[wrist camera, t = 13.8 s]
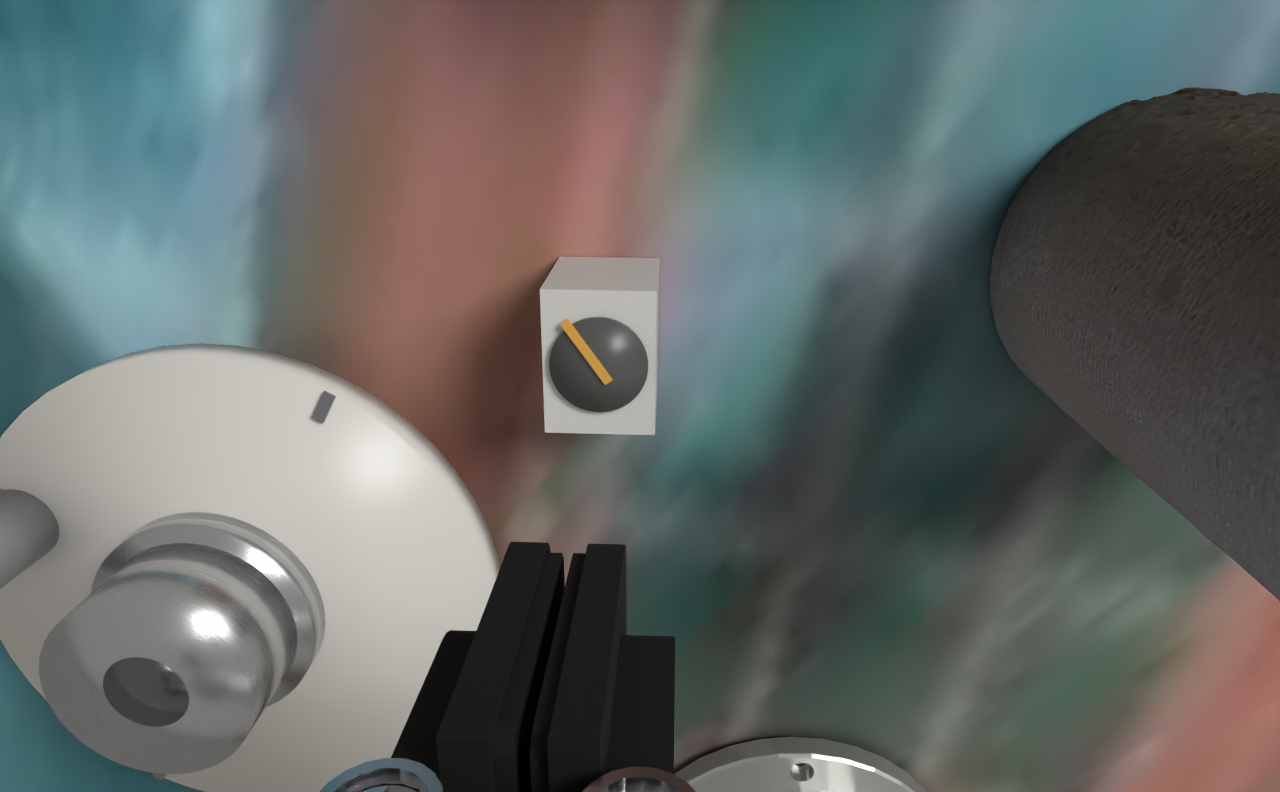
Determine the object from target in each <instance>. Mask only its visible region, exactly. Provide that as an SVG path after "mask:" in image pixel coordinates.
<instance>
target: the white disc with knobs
mask: <svg viewBox="0 0 1280 792" xmlns="http://www.w3.org/2000/svg"><path fill="white" fill-rule="evenodd" d="M187 512H205V513H213V514H220V515H224V516H228V517H233V518H235V519H238V520H241V521H244V522H247V523H249V524H251V525H253V526H255V527H258V528H260V529H262V530H263V531H265V532H267V533H268V534H270V535H272V536H273V537H275V538H276V539H277V540H279V541H280V542H281V543H283V544H284V545H285V546H286V547H287V548H288V549H290V550H291V551H292V552H293V553H294V554H295V555H296V556H297V557H298V558H299V560H300V561H301V562H302V563H303V564H304V566H305V567H306V568H307V570H308V571H309V573H310V574H311V576H312V577H313V579H314V581H315V583H316V585H317V587H318V589H319V592H320V595H321V598H322V601H323V605H324V610H325V625H326V626H325V633H324V638H323V642H322V645H321V648H320V650H319V652H318V654H317V656H316V658H315V659H314V661H313V663H312V664H311V666H310V668H309V669H308V671H307V672H306V674H305V676H304V677H303V679H302V680H301V681H300V683H299V684H298V686H297V687H296V688H295V689H294V690H293V691H292V692H291V693H290V694H288V695H287V696H286V697H284V698H283V699H281V700H280V701H278V702H276V703H274V704H272V705H270V706H268V707H265V709H264V711H263V712H262V714H261V715H260V717H259V718H258V720H257V722H256V723H255V725H254V726H253V728H252V729H251V731H250V732H249V734H248V736H247V737H246V739H245V740H244V742H243V743H242V744H241V746H240V747H239V748H238V749H237V750H236V751H235V752H234V753H233V754H232V755H231V756H230V757H228V758H227V759H226V760H224V761H223V762H221V763H219V764H217V765H215V766H213V767H210V768H207V769H204V770H201V771H197V772H192V773H184V774H159V773H153V776H152V777H154V778H157V779H159V780H161V781H162V780H163V779H164V778H165V779H168V780H170V781H173V782H176V783H179V784H181V785H184V786H187V787H190V788H194V789H197V790H201V791H205V792H320V790H321V789H322V788H323V787H324V786H325V785H326V784H327V783H328V782H329V781H331V780H332V779H334V778H335V777H337V776H338V775H340V774H341V773H342V772H344V771H345V770H348V769H350V768H352V767H355V766H357V765H360V764H362V763H364V762H368V761H373V760H378V759H383V758H391V756H392V754H393V752H394V749H395V747H396V745H397V742H398V740H399V738H400V736H401V733H402V731H403V729H404V726H405V724H406V722H407V720H408V717H409V715H410V713H411V710H412V708H413V706H414V703H415V701H416V699H417V697H418V694H419V692H420V690H421V687H422V685H423V683H424V680H425V678H426V676H427V674H428V671H429V669H430V667H431V664H432V662H433V660H434V658H435V655H436V653H437V651H438V648H439V646H440V644H441V641H442V639H443V637H444V636H445V634H446V632H448V631H450V630H460V631H477V628H478V625H479V623H480V620H481V617H482V615H483V612H484V610H485V607H486V604H487V602H488V599H489V596H490V594H491V591H492V588H493V586H494V583H495V581H496V578H497V575H498V573H499V570H500V566H499V560H498V556H497V553H496V550H495V547H494V544H493V540H492V537H491V534H490V531H489V528H488V526H487V524H486V522H485V520H484V518H483V516H482V514H481V511H480V509H479V507H478V505H477V503H476V501H475V499H474V498H473V496H472V495H471V493H470V491H469V490H468V488H467V487H466V485H465V484H464V482H463V481H462V479H461V478H460V476H459V474H458V473H457V471H456V470H455V469H454V468H453V467H452V466H451V464H450V463H449V462H448V461H447V460H446V458H445V457H444V456H443V455H442V454H441V452H440V451H439V450H438V449H437V448H436V446H435V445H434V444H433V443H432V442H431V441H429V440H428V439H427V438H426V437H425V436H424V435H423V434H422V433H421V432H420V431H419V430H418V429H417V428H416V427H415V426H413V425H412V424H411V423H410V422H409V421H408V420H407V419H406V418H404V417H403V416H402V415H400V414H399V413H397V412H396V411H395V410H393V409H392V408H391V407H389V406H388V405H387V404H385V403H384V402H383V401H381V400H380V399H379V398H377V397H375V396H374V395H372V394H370V393H368V392H367V391H365V390H363V389H362V388H360V387H358V386H356V385H355V384H353V383H351V382H349V381H348V380H346V379H344V378H342V377H339V376H337V375H335V374H333V373H330V372H328V371H326V370H323V369H321V368H319V367H317V366H314V365H312V364H310V363H306V362H303V361H300V360H297V359H293V358H290V357H287V356H284V355H280V354H277V353H274V352H268V351H263V350H257V349H252V348H246V347H241V346H233V345H216V344H186V345H171V346H162V347H157V348H152V349H147V350H143V351H138V352H133V353H129V354H126V355H124V356H121V357H118V358H116V359H113V360H110V361H107V362H105V363H102V364H99V365H97V366H95V367H93V368H91V369H90V370H88V371H86V372H84V373H82V374H80V375H78V376H76V377H74V378H72V379H70V380H69V381H67V382H65V383H63V384H61V385H60V386H58V387H56V388H54V389H52V390H51V391H49V392H47V393H46V394H44V395H43V396H42V397H41V398H39V399H38V400H37V401H36V402H34V403H33V404H32V405H31V406H29V407H28V408H27V409H26V410H24V411H23V412H22V413H21V414H20V415H19V417H18V418H17V419H16V420H15V421H14V422H13V423H12V424H11V426H10V427H9V428H8V429H7V430H6V431H5V432H4V433H3V435H2V436H1V438H0V640H1V641H2V643H3V645H4V647H5V648H6V650H7V652H8V653H9V655H10V657H11V658H12V660H13V661H14V662H15V664H16V665H17V666H18V668H19V669H20V670H21V672H22V673H23V674H24V676H25V677H26V678H27V680H28V681H29V682H30V683H31V684H32V685H33V687H34V688H35V689H36V690H37V691H38V692H39V693H40V694H41V695H42V696H43V697H44V698H45V695H44V692H43V689H42V687H41V682H40V677H39V658H40V652H41V649H42V646H43V643H44V641H45V639H46V638H47V636H48V634H49V633H50V631H51V630H52V629H53V628H54V627H55V626H56V624H58V623H59V622H60V621H61V620H62V619H63V618H64V617H65V616H66V615H68V614H69V613H70V612H71V611H72V610H73V609H74V608H75V607H76V606H78V605H79V604H80V603H81V602H82V601H83V600H84V599H85V598H86V597H88V596H89V595H90V594H91V590H92V584H93V581H94V578H95V575H96V573H97V571H98V569H99V567H100V566H101V564H102V562H103V561H104V560H105V559H106V558H107V556H108V555H109V554H110V553H111V552H112V551H113V550H114V549H116V548H117V547H118V546H119V545H120V544H121V543H123V542H124V541H125V540H126V539H127V538H128V537H130V536H131V535H132V534H133V533H134V532H136V531H137V530H138V529H139V528H141V527H142V526H144V525H146V524H147V523H149V522H151V521H154V520H156V519H159V518H161V517H165V516H169V515H172V514H178V513H187ZM45 699H46V698H45ZM46 701H47V700H46Z"/></svg>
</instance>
